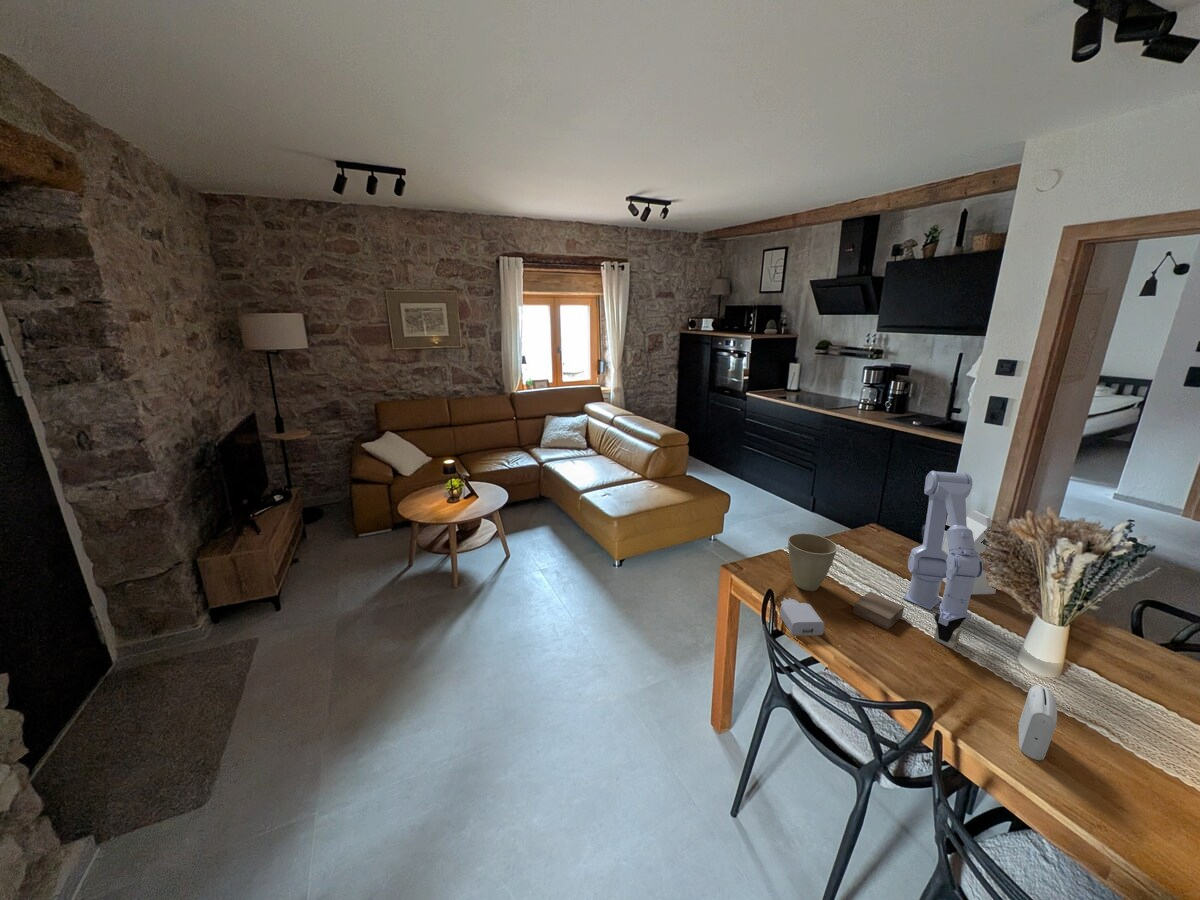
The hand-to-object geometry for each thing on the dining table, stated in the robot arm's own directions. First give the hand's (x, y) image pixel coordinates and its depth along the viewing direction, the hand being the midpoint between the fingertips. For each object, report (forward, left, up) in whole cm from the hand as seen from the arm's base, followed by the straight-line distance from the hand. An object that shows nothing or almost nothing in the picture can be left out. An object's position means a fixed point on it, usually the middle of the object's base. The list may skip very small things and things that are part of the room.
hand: (946, 636), depth 130 cm
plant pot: (+5, -39, -2) cm, 39 cm away
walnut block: (+3, -17, -2) cm, 17 cm away
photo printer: (+23, +23, -2) cm, 33 cm away
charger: (+25, -31, -2) cm, 40 cm away
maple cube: (0, 0, -1) cm, 1 cm away
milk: (-38, -7, -2) cm, 39 cm away
